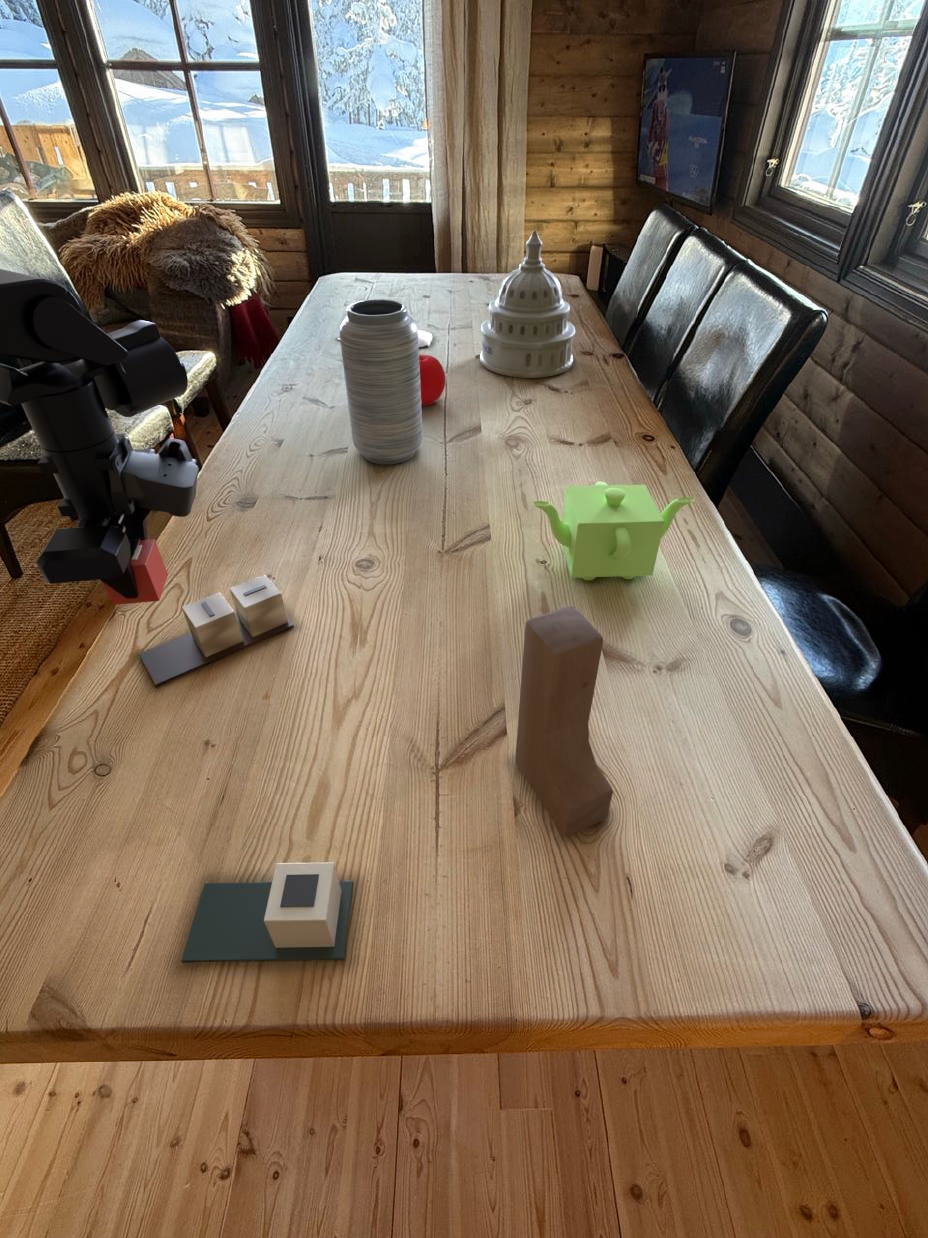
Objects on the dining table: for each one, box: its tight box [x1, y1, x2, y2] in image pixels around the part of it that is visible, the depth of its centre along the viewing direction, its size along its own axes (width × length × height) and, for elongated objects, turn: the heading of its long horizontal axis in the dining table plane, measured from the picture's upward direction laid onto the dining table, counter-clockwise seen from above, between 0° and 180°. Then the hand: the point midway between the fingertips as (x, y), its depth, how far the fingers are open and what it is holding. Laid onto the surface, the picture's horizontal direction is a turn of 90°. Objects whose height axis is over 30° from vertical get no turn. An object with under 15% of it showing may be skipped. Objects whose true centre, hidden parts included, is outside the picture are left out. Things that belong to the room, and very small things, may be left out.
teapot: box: [531, 481, 696, 581], centre depth 83 cm, size 15×13×11 cm
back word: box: [138, 574, 295, 688], centre depth 74 cm, size 16×6×5 cm, turn 127°
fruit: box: [419, 354, 446, 407], centre depth 123 cm, size 9×9×10 cm
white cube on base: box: [180, 862, 354, 964], centre depth 49 cm, size 12×6×5 cm, turn 91°
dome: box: [479, 229, 576, 379], centre depth 135 cm, size 20×25×20 cm
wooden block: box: [514, 605, 614, 838], centre depth 54 cm, size 9×4×18 cm, turn 26°
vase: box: [338, 298, 424, 466], centre depth 103 cm, size 12×12×23 cm
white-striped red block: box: [102, 538, 169, 606], centre depth 65 cm, size 4×4×4 cm
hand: (138, 583), depth 66 cm, fingers closed on white-striped red block, 4 cm apart
